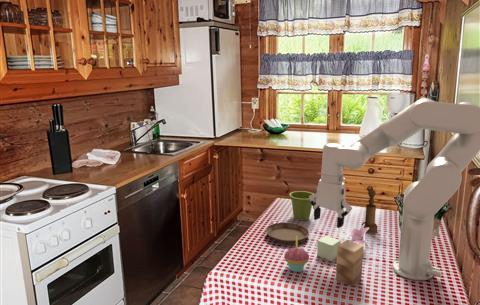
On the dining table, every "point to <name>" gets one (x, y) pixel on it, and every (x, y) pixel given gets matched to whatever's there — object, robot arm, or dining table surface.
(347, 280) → the tower base
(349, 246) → the tower top
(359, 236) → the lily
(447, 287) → the dining table surface
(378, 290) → the dining table surface
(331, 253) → the sage block
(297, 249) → the cupcake
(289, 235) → the plant saucer
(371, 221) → the brown carved statuette
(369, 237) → the dining table surface
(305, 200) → the plant pot
